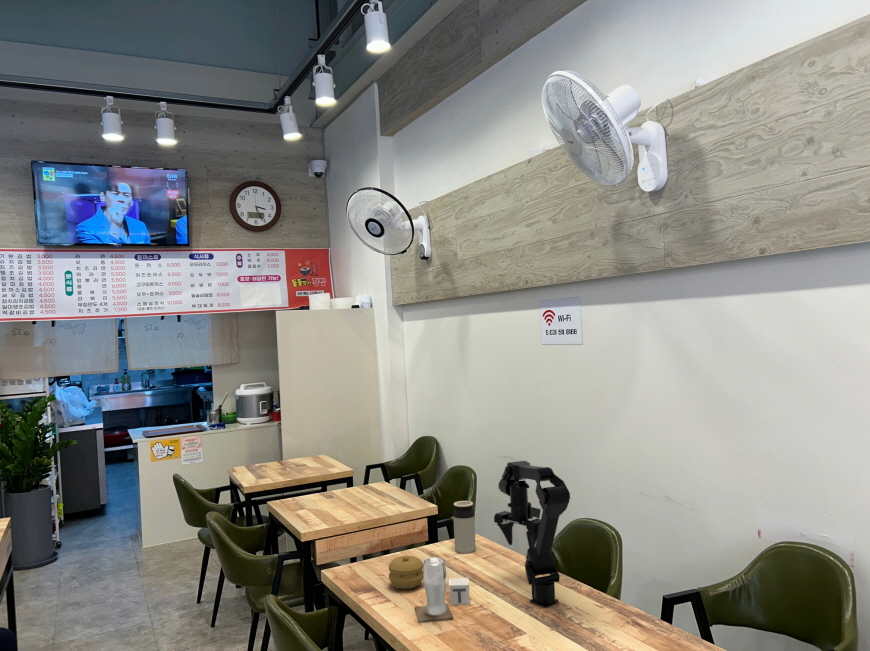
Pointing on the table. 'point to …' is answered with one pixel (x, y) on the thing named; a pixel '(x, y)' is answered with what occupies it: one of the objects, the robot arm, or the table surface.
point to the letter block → (459, 591)
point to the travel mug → (464, 527)
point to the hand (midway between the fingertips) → (521, 547)
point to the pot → (406, 572)
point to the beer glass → (435, 585)
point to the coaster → (424, 617)
